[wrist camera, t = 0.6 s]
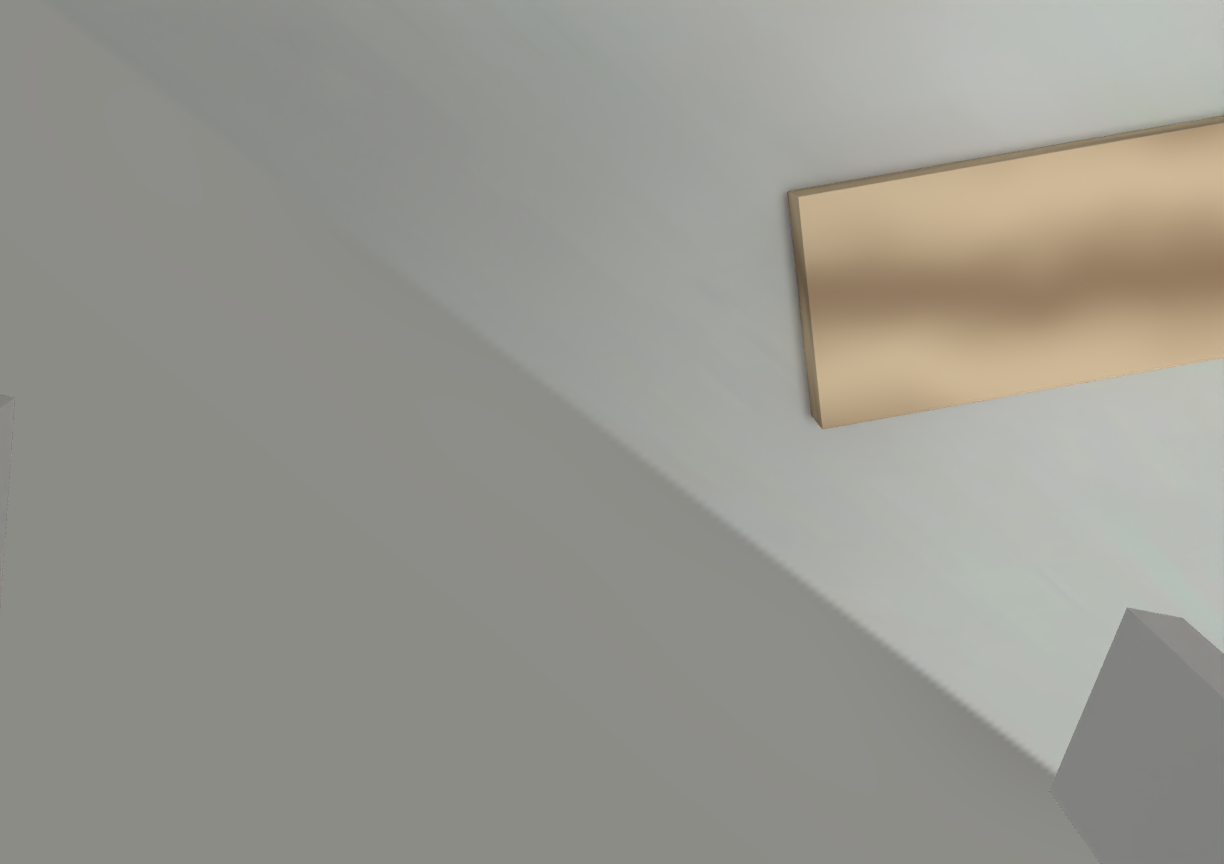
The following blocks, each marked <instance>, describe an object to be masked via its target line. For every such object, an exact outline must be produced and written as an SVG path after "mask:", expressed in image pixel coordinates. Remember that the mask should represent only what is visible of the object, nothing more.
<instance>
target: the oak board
mask: <svg viewBox="0 0 1224 864" xmlns="http://www.w3.org/2000/svg"><path fill="white" fill-rule="evenodd" d="M788 199H789V208H790V217H791V227H792V236H793V245H794V255H795V264H796V273H797V282H798V292H799V301H800V310H801V319H802V329H803V338H804V347H805V356H806V366H807V375H808V384H809V393H810V403H811V412H812V417H813V418H814V419H815V421H816V422H817V423H818V424H819V426H820V427H821V428H822V429H827V428H833V427H838V426H844V425H850V424H855V423H861V422H866V421H872V420H878V419H883V418H889V417H894V416H900V415H906V414H911V413H917V412H923V411H928V410H934V409H939V408H945V407H951V406H956V405H962V404H967V403H973V402H979V401H984V400H990V399H995V398H1001V397H1007V396H1012V395H1018V394H1023V393H1029V392H1035V391H1040V390H1046V389H1051V388H1057V387H1063V386H1068V385H1074V384H1079V383H1085V382H1091V381H1096V380H1102V379H1107V378H1113V377H1119V376H1124V375H1130V374H1135V373H1141V372H1147V371H1152V370H1158V369H1163V368H1169V367H1175V366H1180V365H1186V364H1191V363H1197V362H1203V361H1208V360H1214V359H1220V358H1224V116H1219V117H1213V118H1207V119H1201V120H1196V121H1190V122H1184V123H1179V124H1173V125H1167V126H1161V127H1156V128H1150V129H1144V130H1138V131H1133V132H1127V133H1121V134H1115V135H1110V136H1104V137H1098V138H1092V139H1087V140H1081V141H1075V142H1069V143H1064V144H1058V145H1052V146H1046V147H1041V148H1035V149H1029V150H1023V151H1018V152H1012V153H1006V154H1000V155H995V156H989V157H983V158H978V159H972V160H966V161H960V162H955V163H949V164H943V165H937V166H932V167H926V168H920V169H914V170H909V171H903V172H897V173H891V174H886V175H880V176H874V177H868V178H863V179H857V180H851V181H845V182H840V183H834V184H828V185H822V186H817V187H811V188H805V189H799V190H794V191H788Z"/></svg>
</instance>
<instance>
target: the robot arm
mask: <svg viewBox="0 0 1224 864" xmlns="http://www.w3.org/2000/svg"><path fill="white" fill-rule="evenodd" d="M14 405H15V398H14V397H9V396H3V395H0V606H1V592H2V578H3V563H4V549H5V535H6V520H7V506H8V492H9V478H10V463H11V449H12V448H11V447H12V434H13V420H14ZM1049 792H1050V793H1051V795H1052V796H1053V798H1054V799H1055V801H1056V802H1057V803H1058V805H1059V806H1060V808H1061V809H1062V810H1063V812H1064V813H1065V815H1066V816H1067V818H1068V819H1069V820H1070V822H1071V823H1072V825H1073V826H1074V828H1075V829H1076V830H1077V832H1078V833H1079V835H1080V836H1081V838H1082V839H1083V840H1084V842H1085V843H1086V845H1087V846H1088V847H1089V849H1090V850H1091V852H1092V853H1093V854H1094V856H1095V857H1096V859H1097V860H1098V862H1099V863H1100V864H1224V654H1223V653H1222V652H1221V651H1220V650H1219V649H1218V648H1216V647H1215V646H1214V645H1213V644H1212V643H1211V642H1210V641H1208V640H1207V639H1206V638H1205V637H1204V636H1203V635H1202V634H1200V633H1199V632H1198V631H1197V630H1196V629H1195V628H1193V627H1192V626H1191V625H1190V624H1189V623H1188V622H1187V621H1185V620H1184V619H1183V618H1180V617H1175V616H1169V615H1164V614H1159V613H1153V612H1148V611H1143V610H1138V609H1132V608H1127V609H1126V611H1125V614H1124V616H1123V618H1122V621H1121V623H1120V625H1119V628H1118V630H1117V633H1116V635H1115V637H1114V640H1113V642H1112V644H1111V647H1110V649H1109V651H1108V654H1107V656H1106V659H1105V661H1104V663H1103V666H1102V668H1101V670H1100V673H1099V675H1098V677H1097V680H1096V682H1095V684H1094V687H1093V689H1092V692H1091V694H1090V696H1089V699H1088V701H1087V703H1086V706H1085V708H1084V710H1083V713H1082V715H1081V717H1080V720H1079V722H1078V725H1077V727H1076V729H1075V732H1074V734H1073V736H1072V739H1071V741H1070V743H1069V746H1068V748H1067V750H1066V753H1065V755H1064V758H1063V760H1062V762H1061V765H1060V767H1059V769H1058V772H1057V774H1056V776H1055V779H1054V781H1053V784H1052V786H1051V788H1050V791H1049Z"/></svg>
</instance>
